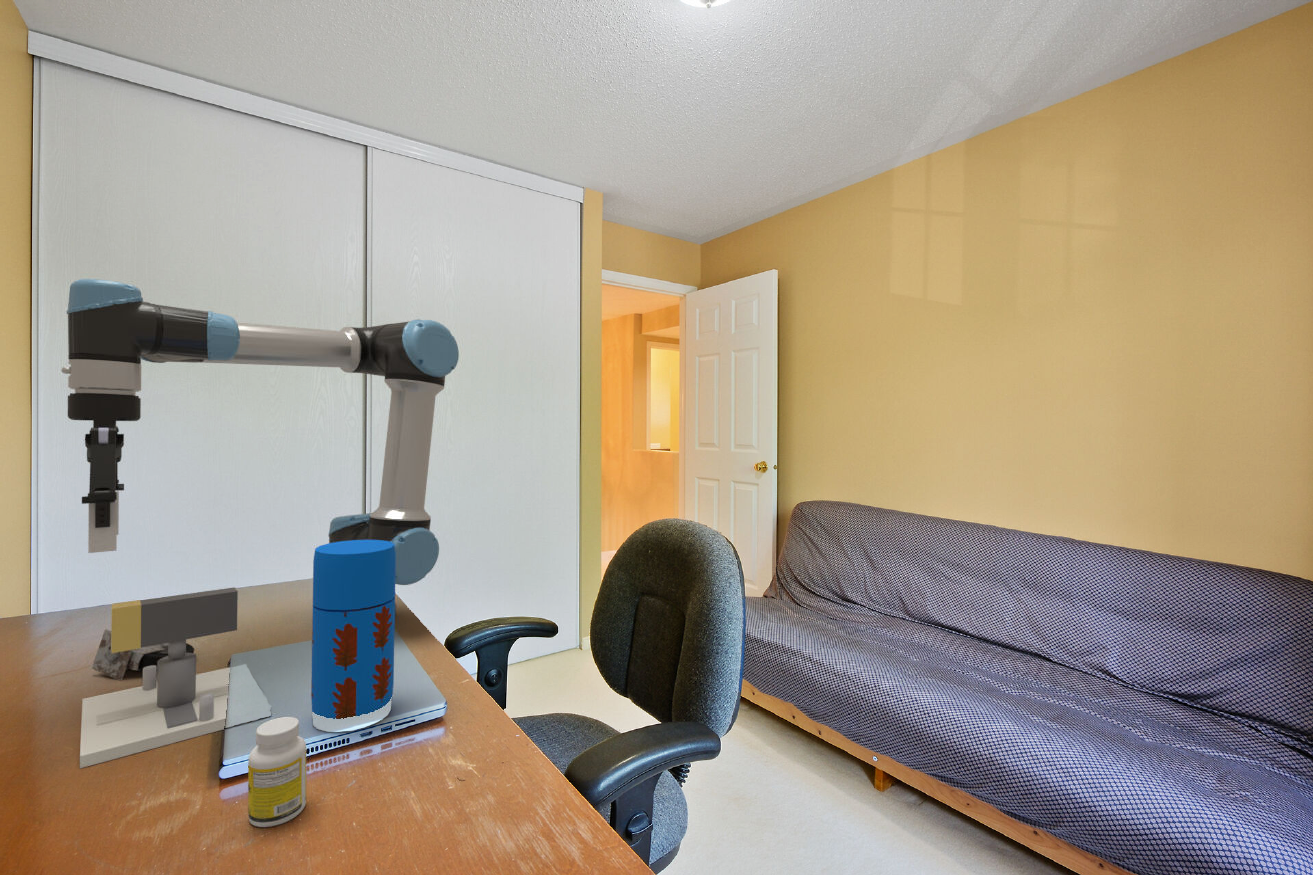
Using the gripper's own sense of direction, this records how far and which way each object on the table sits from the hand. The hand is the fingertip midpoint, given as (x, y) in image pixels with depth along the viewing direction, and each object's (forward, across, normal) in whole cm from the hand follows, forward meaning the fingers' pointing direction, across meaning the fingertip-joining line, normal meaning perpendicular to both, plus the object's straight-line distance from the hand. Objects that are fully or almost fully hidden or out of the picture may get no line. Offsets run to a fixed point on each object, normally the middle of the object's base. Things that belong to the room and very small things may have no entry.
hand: (104, 543), depth 84 cm
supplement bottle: (+26, +38, +15) cm, 49 cm away
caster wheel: (+26, -18, +5) cm, 32 cm away
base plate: (+25, +4, +8) cm, 27 cm away
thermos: (+26, +20, +28) cm, 43 cm away
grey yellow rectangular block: (+17, +4, +8) cm, 19 cm away
